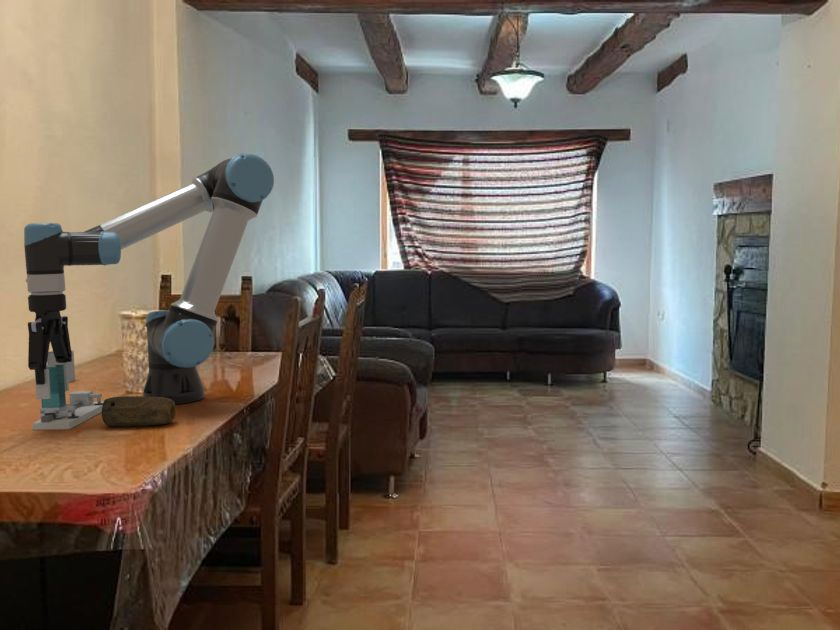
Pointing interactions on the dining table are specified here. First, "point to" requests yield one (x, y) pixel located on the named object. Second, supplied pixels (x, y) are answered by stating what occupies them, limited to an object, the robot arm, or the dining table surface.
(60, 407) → the block
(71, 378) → the cup
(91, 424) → the dining table surface
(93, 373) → the dining table surface
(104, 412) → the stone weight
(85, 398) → the gauge plate
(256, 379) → the dining table surface
